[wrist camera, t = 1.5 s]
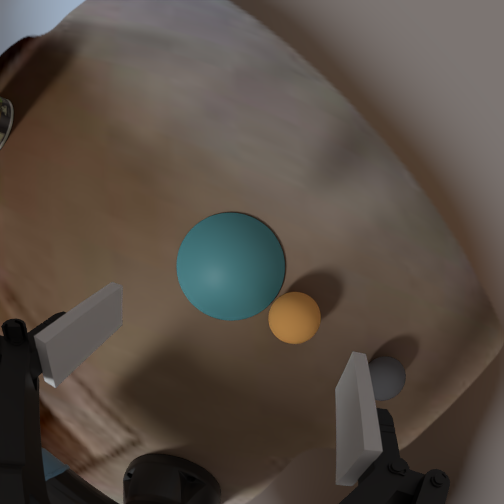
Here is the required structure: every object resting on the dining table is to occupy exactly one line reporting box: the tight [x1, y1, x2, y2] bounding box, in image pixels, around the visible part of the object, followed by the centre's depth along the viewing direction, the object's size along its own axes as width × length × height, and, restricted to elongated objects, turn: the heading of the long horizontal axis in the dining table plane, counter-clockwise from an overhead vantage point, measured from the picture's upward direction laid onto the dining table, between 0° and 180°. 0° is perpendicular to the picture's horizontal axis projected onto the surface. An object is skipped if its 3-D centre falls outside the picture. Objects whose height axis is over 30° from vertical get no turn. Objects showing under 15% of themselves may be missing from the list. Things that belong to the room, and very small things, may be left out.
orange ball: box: [268, 292, 321, 344], centre depth 32 cm, size 6×6×6 cm
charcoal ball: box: [368, 356, 406, 401], centre depth 33 cm, size 6×6×6 cm
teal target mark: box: [177, 213, 285, 320], centre depth 34 cm, size 12×12×1 cm
